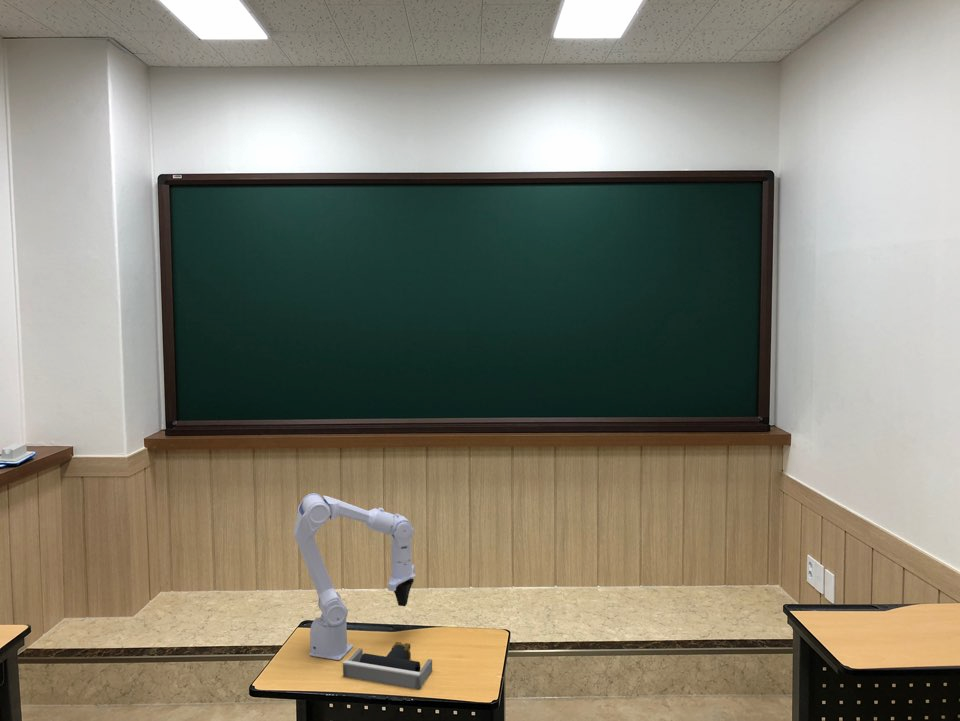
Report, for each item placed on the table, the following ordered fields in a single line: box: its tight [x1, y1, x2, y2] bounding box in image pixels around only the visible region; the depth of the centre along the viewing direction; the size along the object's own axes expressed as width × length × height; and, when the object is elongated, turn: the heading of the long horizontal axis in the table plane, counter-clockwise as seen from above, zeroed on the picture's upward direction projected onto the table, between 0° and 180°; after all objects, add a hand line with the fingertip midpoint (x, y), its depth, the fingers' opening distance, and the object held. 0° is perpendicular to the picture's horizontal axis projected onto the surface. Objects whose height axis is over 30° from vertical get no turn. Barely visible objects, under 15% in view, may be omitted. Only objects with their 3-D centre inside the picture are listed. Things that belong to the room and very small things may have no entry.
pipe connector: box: [360, 641, 421, 672], centre depth 175 cm, size 12×5×15 cm
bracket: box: [342, 647, 433, 690], centre depth 173 cm, size 21×9×4 cm, turn 73°
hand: (402, 605), depth 191 cm, fingers closed
